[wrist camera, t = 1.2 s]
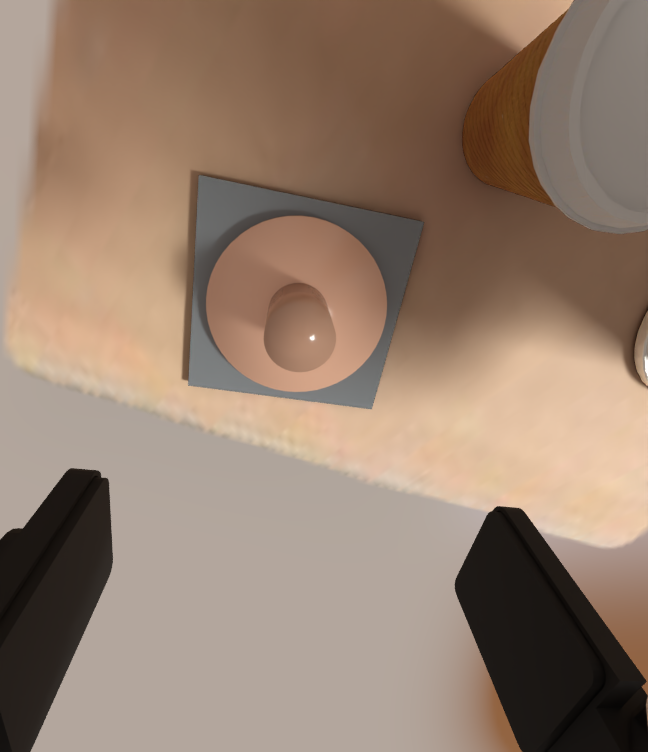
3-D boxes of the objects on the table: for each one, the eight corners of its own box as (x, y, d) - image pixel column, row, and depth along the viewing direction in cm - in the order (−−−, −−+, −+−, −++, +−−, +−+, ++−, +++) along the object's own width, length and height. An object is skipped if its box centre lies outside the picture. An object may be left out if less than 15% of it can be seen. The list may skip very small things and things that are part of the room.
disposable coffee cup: (534, 235, 27) (700, 271, 16) (409, 182, 25) (501, 181, 14) (624, 72, 23) (920, -25, 12) (485, -7, 21) (692, -208, 10)
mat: (421, 221, 26) (424, 222, 25) (370, 405, 31) (371, 409, 31) (200, 175, 23) (198, 175, 23) (190, 381, 29) (188, 385, 29)
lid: (404, 235, 25) (434, 248, 20) (362, 396, 30) (377, 440, 25) (214, 197, 24) (194, 201, 18) (202, 375, 29) (183, 418, 23)
